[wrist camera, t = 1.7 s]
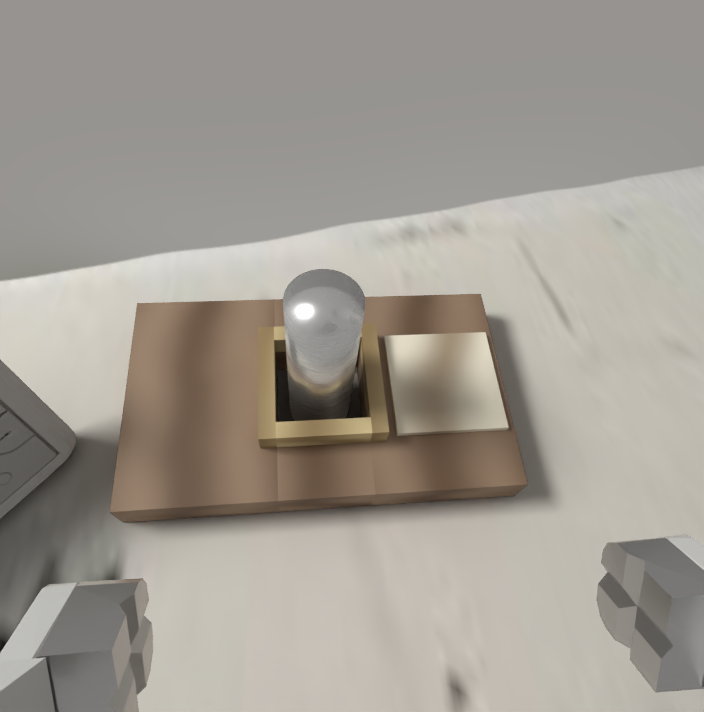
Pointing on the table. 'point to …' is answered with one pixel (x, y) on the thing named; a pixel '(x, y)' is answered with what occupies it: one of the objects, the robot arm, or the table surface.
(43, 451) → the digital clock
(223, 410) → the wooden peg board
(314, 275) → the steel pin
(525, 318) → the table surface
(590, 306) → the table surface
